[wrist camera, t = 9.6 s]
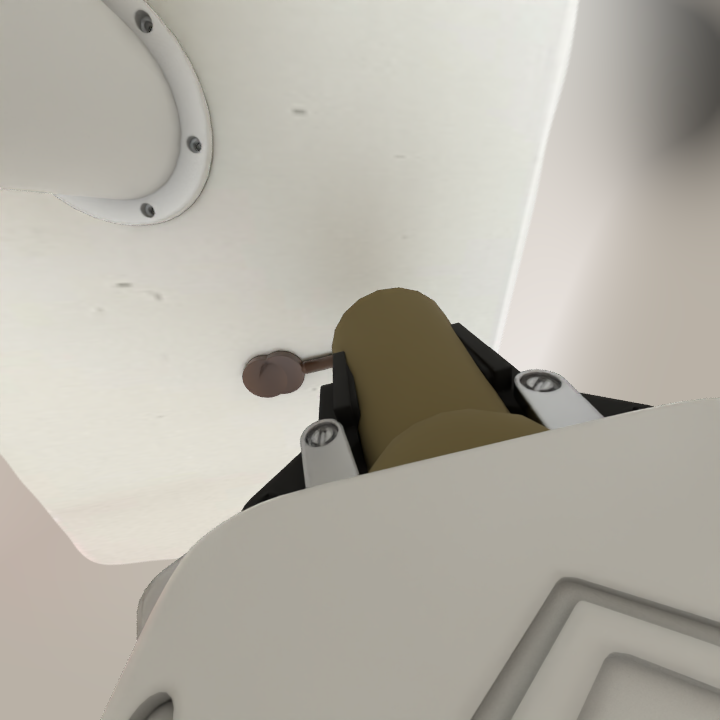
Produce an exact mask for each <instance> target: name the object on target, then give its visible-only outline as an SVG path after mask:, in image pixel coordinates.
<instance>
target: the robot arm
mask: <svg viewBox="0 0 720 720" xmlns="http://www.w3.org/2000/svg"><path fill="white" fill-rule="evenodd" d="M150 26H153V27H152V31H150V32H149V27H150ZM212 137H213V136H212V129H211V122H210V115H209V110H208V107H207V103H206V100H205V97H204V93H203V90H202V87H201V85H200V82H199V80H198V78H197V76H196V73H195V71H194V69H193V67H192V64H191V62H190V61H189V59H188V57H187V56H186V54H185V52H184V51H183V49H182V47H181V46H180V44H179V43H178V41H177V39H176V38H175V36H174V35H173V34H172V32H171V31H170V30H169V29H168V27H167V26H166V25H165V24H164V22H163V21H162V20H161V19H160V17H159V16H158V15H157V14H156V13H155V12H154V10H153V9H152V8H151V7H150V6H149V5H148V4H147V3H146V2H145V1H144V0H0V189H5V190H16V191H28V192H39V193H50V194H53V195H54V196H55V197H57V198H59V199H60V200H62V201H63V202H65V203H67V204H68V205H70V206H71V207H73V208H74V209H77V210H79V211H81V212H83V213H85V214H88V215H90V216H92V217H94V218H97V219H101V220H104V221H108V222H111V223H114V224H123V225H132V226H136V225H152V224H157V223H162V222H166V221H168V220H170V219H172V218H175V217H177V216H179V215H180V214H182V213H183V212H184V211H185V210H186V209H188V208H189V207H190V206H191V205H192V204H193V203H194V201H195V200H196V199H197V197H198V196H199V195H200V193H201V192H202V190H203V187H204V185H205V183H206V180H207V178H208V175H209V170H210V165H211V160H212ZM198 143H200V144H201V150H200V151H197V149H196V145H197V144H198ZM152 207H153V209H154V212H155V214H153V212H152ZM451 327H452V328H453V330H454V332H455V333H456V335H457V336H458V338H459V339H460V341H461V342H462V343H463V345H464V347H465V348H466V350H467V351H468V353H469V354H470V356H471V357H472V359H473V361H474V362H475V364H476V365H477V366H478V368H479V369H480V371H481V372H482V374H483V375H484V377H485V378H486V379H487V381H488V382H489V383H490V384H491V386H492V387H493V388H494V390H495V391H496V392H497V394H498V395H499V397H500V398H501V400H502V401H503V403H504V404H505V406H506V407H507V409H508V410H509V412H510V413H511V414H518V415H523V416H525V417H527V418H529V419H531V420H533V421H535V422H537V423H539V424H541V425H543V426H545V427H546V428H548V429H550V430H548V431H544V432H540V433H536V434H531V435H527V436H523V437H519V438H514V439H510V440H506V441H502V442H498V443H493V444H489V445H485V446H481V447H476V448H472V449H468V450H464V451H459V452H455V453H451V454H447V455H442V456H438V457H434V458H430V459H425V460H421V461H417V462H413V463H408V464H404V465H400V466H396V467H392V468H388V469H383V470H379V471H375V472H371V473H368V469H367V466H366V463H365V459H364V455H363V451H362V446H361V442H360V437H359V433H358V424H359V420H360V416H361V414H360V409H359V404H358V398H357V393H356V387H355V382H354V376H353V374H352V372H351V370H350V368H349V367H348V365H347V363H346V357H345V352H344V351H341V352H337V353H333V383H331V384H327V385H323V386H321V389H320V406H319V421H317V422H314V423H312V424H311V425H310V426H308V427H307V428H306V429H305V430H304V431H303V433H302V435H301V438H300V445H301V453H300V454H299V455H297V456H296V457H295V458H294V459H293V460H292V461H291V462H290V463H289V464H288V465H287V466H286V467H285V468H283V469H282V470H281V471H280V472H279V473H278V474H277V475H276V476H275V477H274V478H273V479H272V480H270V481H269V482H268V483H267V484H266V485H265V486H264V487H263V488H262V489H261V490H260V491H259V492H257V493H256V494H255V495H254V496H253V497H252V498H251V499H250V500H249V501H248V502H247V504H246V505H245V506H244V508H243V510H242V511H241V512H239V513H238V514H236V515H234V516H233V517H231V518H229V519H228V520H226V521H224V522H223V523H221V524H219V525H218V526H216V527H215V528H214V529H212V530H211V531H209V532H208V533H207V534H206V535H204V536H203V537H202V538H201V539H200V540H199V541H198V542H197V543H196V544H195V545H194V546H193V547H192V548H191V549H190V550H189V551H188V552H187V553H186V554H184V555H183V556H182V557H180V558H179V559H178V560H176V561H175V562H174V563H172V564H171V565H170V566H168V567H167V568H166V569H164V570H163V571H162V572H161V573H159V574H158V575H157V576H156V577H155V578H154V579H153V580H152V581H151V583H150V584H149V585H148V587H147V588H146V589H145V591H144V593H143V595H142V597H141V599H140V601H139V604H138V610H137V642H136V644H135V646H134V648H133V650H132V653H131V655H130V657H129V659H128V662H127V663H126V665H125V668H124V670H123V672H122V674H121V676H120V678H119V680H118V683H117V685H116V687H115V689H114V691H113V693H112V695H111V697H110V700H109V702H108V704H107V706H106V708H105V710H104V713H103V715H102V717H101V719H100V720H720V398H709V399H698V400H691V401H683V402H676V403H671V404H666V405H661V406H656V407H654V406H649V405H644V404H639V403H633V402H628V401H623V400H617V399H611V398H606V397H601V396H595V395H590V394H583V393H579V392H578V391H577V390H576V389H575V388H574V387H573V386H572V385H571V384H570V383H569V382H568V381H567V380H566V379H565V378H563V377H562V376H561V375H559V374H557V373H554V372H551V371H547V370H527V371H523V372H520V371H518V370H517V369H516V368H515V367H514V366H512V365H511V364H510V363H508V362H507V361H506V360H505V359H503V358H502V357H501V356H500V355H499V354H497V353H496V352H495V351H494V350H493V349H491V348H490V347H488V346H487V345H486V344H484V343H483V342H482V341H481V340H480V339H478V338H477V337H476V336H475V335H473V334H472V333H471V332H470V331H468V330H467V329H466V328H465V327H464V326H462V325H461V324H460V323H455V324H451Z"/></svg>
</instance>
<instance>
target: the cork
mask: <svg viewBox="0 0 720 720" xmlns="http://www.w3.org/2000/svg"><path fill="white" fill-rule="evenodd" d="M332 351H333V353H337V352H341V351H344V352H345V357H346V363H347V365H348V367H349V368H350V370H351V372H352V374H353V376H354V382H355V387H356V393H357V398H358V404H359V409H360V414H361V416H360V420H359V424H358V433H359V437H360V442H361V446H362V451H363V455H364V459H365V463H366V466H367V469H368V473H371V472H375V471H379V470H383V469H388V468H392V467H396V466H400V465H404V464H408V463H413V462H417V461H421V460H425V459H430V458H434V457H438V456H442V455H447V454H451V453H455V452H459V451H464V450H468V449H472V448H476V447H481V446H485V445H489V444H493V443H498V442H502V441H506V440H510V439H514V438H519V437H523V436H527V435H531V434H536V433H540V432H544V431H548V430H550V429H548V428H546V427H545V426H543V425H541V424H539V423H537V422H535V421H533V420H531V419H529V418H527V417H525V416H523V415H518V414H511V413H510V412H509V410H508V409H507V407H506V406H505V404H504V403H503V401H502V400H501V398H500V397H499V395H498V394H497V392H496V391H495V390H494V388H493V387H492V386H491V384H490V383H489V382H488V381H487V379H486V378H485V377H484V375H483V374H482V372H481V371H480V369H479V368H478V366H477V365H476V364H475V362H474V361H473V359H472V357H471V356H470V354H469V353H468V351H467V350H466V348H465V347H464V345H463V343H462V342H461V341H460V339H459V338H458V336H457V335H456V333H455V332H454V330H453V328H452V327H451V323H450V322H449V320H448V319H447V317H446V316H445V314H444V313H443V312H442V310H441V309H440V308H439V307H438V305H437V304H436V303H435V301H433V300H432V299H430V298H428V297H427V296H425V295H423V294H422V293H420V292H418V291H414V290H409V289H404V288H399V287H398V288H391V289H383V290H377V291H375V292H373V293H371V294H369V295H367V296H365V297H363V298H361V299H359V300H358V301H357V302H356V303H354V304H353V305H352V306H351V307H350V308H349V309H348V310H347V311H346V312H345V313H344V314H343V316H342V318H341V320H340V322H339V323H338V325H337V327H336V329H335V332H334V338H333V344H332Z"/></svg>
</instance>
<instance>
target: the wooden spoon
mask: <svg viewBox="0 0 720 720" xmlns="http://www.w3.org/2000/svg"><path fill="white" fill-rule="evenodd" d="M329 368H333V355H329V356H325V357H321V358H317V359H313V360H309V361H305V362H303V363H302V361H301V360H300V359H299V358H298V357H297V356H296V355H294V354H292V353H289V352H285V351H278V352H274V353H271V354H269V355H262V356H257V357H255V358H253V359H252V360H250V361H249V362H248V364H247V365H246V367H245V369H244V371H243V375H242V378H243V383H244V385H245V387H246V388H247V389H248V390H249V391H250V392H251V393H253V394H255V395H257V396H260V397H266V398H269V397H275V396H277V395H279V394H287V393H291V392H293V391H295V390H297V389H298V388H299V387H300V386H301V385H302V383H303V381H304V375H305V374H308V373H312V372H316V371H320V370H325V369H329Z"/></svg>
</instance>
